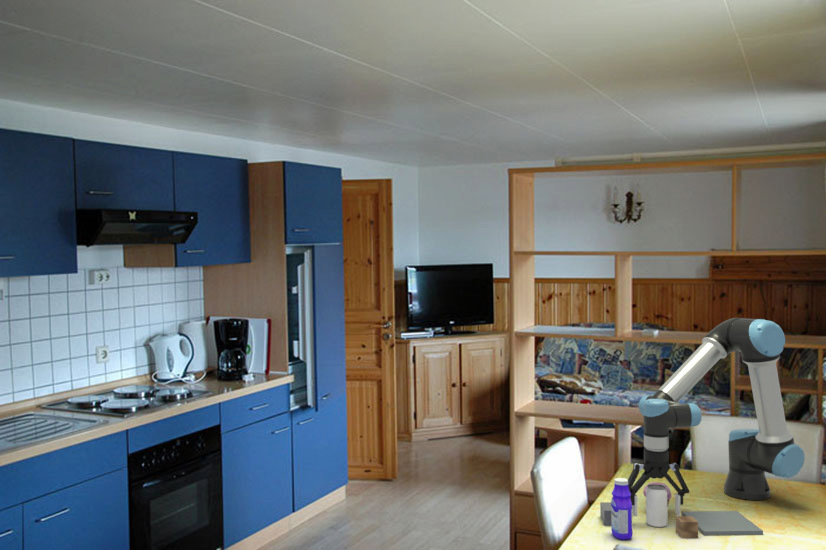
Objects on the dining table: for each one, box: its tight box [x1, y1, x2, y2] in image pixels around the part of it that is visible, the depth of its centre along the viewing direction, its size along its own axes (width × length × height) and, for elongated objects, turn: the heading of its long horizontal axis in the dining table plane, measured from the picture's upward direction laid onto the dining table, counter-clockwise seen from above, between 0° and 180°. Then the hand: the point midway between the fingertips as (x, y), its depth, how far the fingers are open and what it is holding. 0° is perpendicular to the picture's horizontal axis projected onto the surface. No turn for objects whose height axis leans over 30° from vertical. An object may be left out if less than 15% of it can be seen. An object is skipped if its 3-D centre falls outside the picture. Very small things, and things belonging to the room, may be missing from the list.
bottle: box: [610, 477, 634, 540], centre depth 220 cm, size 7×6×17 cm
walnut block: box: [675, 515, 699, 539], centre depth 220 cm, size 5×5×5 cm
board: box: [681, 510, 764, 536], centre depth 229 cm, size 18×18×1 cm
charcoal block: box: [599, 502, 611, 527], centre depth 233 cm, size 4×8×5 cm, turn 174°
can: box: [645, 484, 669, 528], centre depth 230 cm, size 6×6×12 cm
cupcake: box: [642, 481, 673, 508], centre depth 241 cm, size 9×9×10 cm
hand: (656, 515), depth 230 cm, fingers open, 13 cm apart
